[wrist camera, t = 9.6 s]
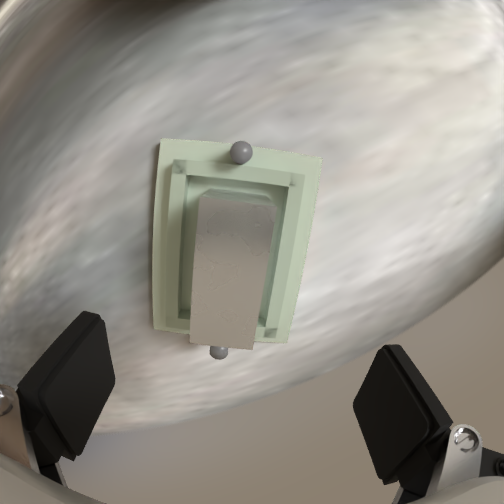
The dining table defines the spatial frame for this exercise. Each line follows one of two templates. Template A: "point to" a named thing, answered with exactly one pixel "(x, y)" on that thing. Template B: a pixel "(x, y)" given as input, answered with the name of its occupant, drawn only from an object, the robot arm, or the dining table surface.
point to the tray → (186, 214)
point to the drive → (230, 267)
